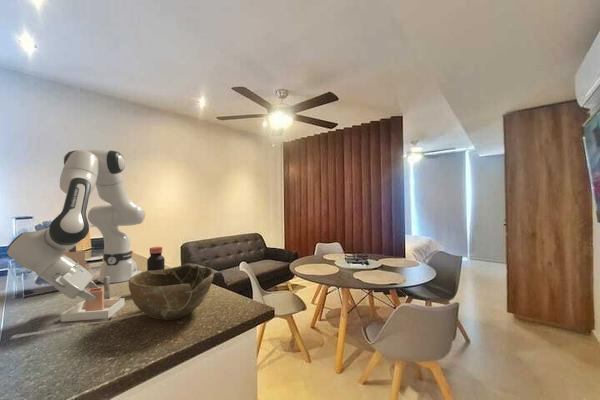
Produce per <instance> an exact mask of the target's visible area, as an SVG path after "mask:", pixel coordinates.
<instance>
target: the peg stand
mask: <svg viewBox="0 0 600 400" xmlns="http://www.w3.org/2000/svg"><path fill="white" fill-rule="evenodd" d="M103 287H104V300H105V299H121V298H122V295H115V296H110V283H109V276H106V277H104V283H103Z"/></svg>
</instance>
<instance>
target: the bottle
mask: <svg viewBox="0 0 600 400" xmlns="http://www.w3.org/2000/svg"><path fill="white" fill-rule="evenodd" d="M162 253H163V247H162V246H152V247H150V248H149V257H148V258H147V263H146V264H147V265H146V271H151V270H152V271H155V270H165V269H166V268H165V261H166V260H165V257H164V256H163V255H162Z"/></svg>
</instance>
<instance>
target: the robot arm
mask: <svg viewBox="0 0 600 400" xmlns="http://www.w3.org/2000/svg"><path fill="white" fill-rule="evenodd" d="M63 157H64V158H63V168H62V170H61V173H60V178H59V188H60V191H62V192H63V193H65V194H66V195H65V199H64V204H63V207H62V211H61V212H60V213H59V214H58V215H57V216H55V218H54V219H52V221H51V224H50V225H49V227H47V228H43V229H40V230H35V231H24V232H22V233H20V234H19V235H17V236H16V237H15V238H14V239H13V240H12V241H11V242H10V243H9V244H8V246H7V248H6V253H7V255H8V256H9V257H10V258H11V259H13V260H14V261H15V262H16V263H18V265H20V266H21V267H23V268H25V269H27V270H30V271H31V272H33V273H35V274H36V276H38V277H39V278H41V279H42V280H43V281H45V282H46V283H48V284H50V285H51V286H53V287H54V288H55V289H56V290H58V291H59V292H60V293H62V294H63V295H64V296H66V297H67V298H69V299H72V300H74V299H76V298H77V297H79V298H82V299H85V300H86V299H87V300H89V301H92V300H94V299H95V297H96V296H95V295H94V294H91V293H89V292H87V289H86V287H87V288H88V289H94V288H100V287H99V286H98V285H97V284H96V283H95V282H94V281H93V279H94V275H93V274H92V273H91V271H88V270H87V269H86V267H85V268H83V267H82V266H81V265H79V264H78V263H79V262H78V261H77V260H75V259H70V258H68V257H67V256H65V255H64V254H63V253H64V252H66V251H69V250H70V249H72V248H73V247H74V246H77V245H78V244H79V243H80V241H82V240H84V239H85V238H86V237H87V236H88V234H89V232H90V224H91V225H93V227H96V228H97V229H98V230H99V232H100V234H101V235H102V238H103V245H104V250H103V251H104V253H103V255H102V260H103V262H101V264H100V270H99V277H97V278H96V282H100V283H102V284H104V277H106V276H109V284H115V283H116V284H117V283H122V282H123V283H124V282H126V281H129V280H130V278H131V277H132V276H134V275H137V274H139V273H141V272H143V271H142V270H140V269H138V263H137V262H136V261H135V259H133V258H132V255H133V254H134V251H133V250H131V239H130V236H129V235H128V234H127V233H125V232H122V231H121V230H120V228H119V226H120V227H127V226H135V225H140V224H142V223H143V222H144V220H145V217H146V212H145V209H144V208H143V207H142V206H140V205H138V204H137V203H135V202H134V201H133V200H132V199H131V198H130V197H129V196H128V194H127V191H126V189H125V186H124V185H125V184H124V181H123V177H122V174H121V173H122V171H124V169H125V158H124V156H123V154H122V153H120V152H119V151H116V150H104V149H90V150H89V149H85V150H82V149H80V150H79V149H77V150H71V151H68V152H67V153H66V154H65V155H64V156H63ZM95 186H96V189H97V190H96V191H97V194H98V196H99V198H100V199H101V200H102V201H104V202H106V203H108V204H102V205H96V206H93V207H91V208H90V209H89V211H88V213H87V208H88V205H89V203H88V202H89V198H90V195H91V194H92V193H93V192H94V188H95ZM89 223H90V224H89ZM13 260H12V261H13Z"/></svg>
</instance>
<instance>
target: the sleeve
mask: <svg viewBox="0 0 600 400" xmlns="http://www.w3.org/2000/svg"><path fill="white" fill-rule="evenodd" d="M86 291H87V292H89V293H91V294H94V295H95V296H96V297H95V299H94V300H92V301H89V300H87V299H85V301H86V311H99V310H104V286H102V287H99V288H94V289H90V288H88V289H86Z"/></svg>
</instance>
